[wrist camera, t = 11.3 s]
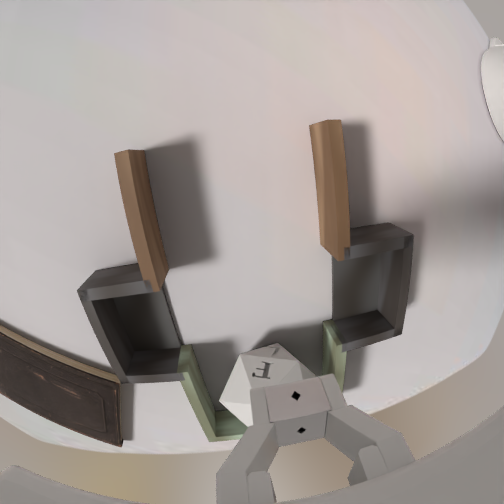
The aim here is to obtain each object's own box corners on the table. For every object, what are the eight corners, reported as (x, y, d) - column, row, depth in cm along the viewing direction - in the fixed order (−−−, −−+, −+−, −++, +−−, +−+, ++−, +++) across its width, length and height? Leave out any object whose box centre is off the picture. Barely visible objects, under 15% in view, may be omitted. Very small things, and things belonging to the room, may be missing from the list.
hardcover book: (-19, 308, 22) (-28, 316, 20) (124, 371, 27) (119, 385, 25) (4, 385, 27) (-2, 393, 25) (124, 437, 31) (121, 449, 29)
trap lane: (383, 124, 20) (409, 121, 17) (371, 382, 31) (384, 403, 27) (71, 172, 19) (45, 177, 15) (163, 419, 29) (160, 443, 26)
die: (319, 342, 28) (317, 358, 19) (309, 415, 26) (302, 456, 17) (245, 336, 30) (211, 345, 21) (238, 406, 29) (205, 438, 19)
